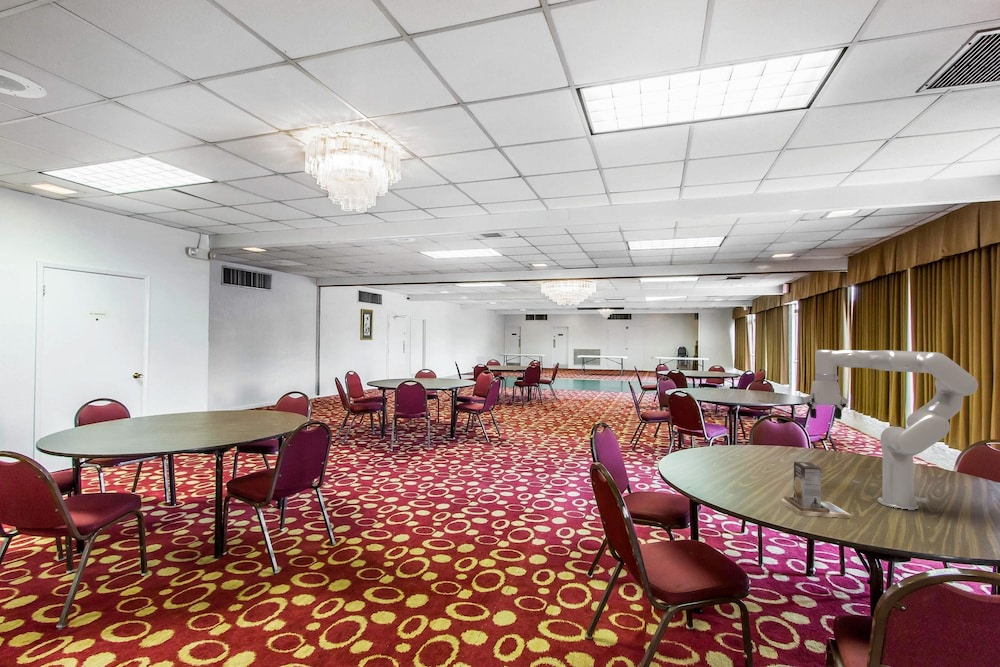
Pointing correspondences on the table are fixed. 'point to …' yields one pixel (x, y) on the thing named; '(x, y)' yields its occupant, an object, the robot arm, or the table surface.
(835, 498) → the table surface
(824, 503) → the build board
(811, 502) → the coffee box
